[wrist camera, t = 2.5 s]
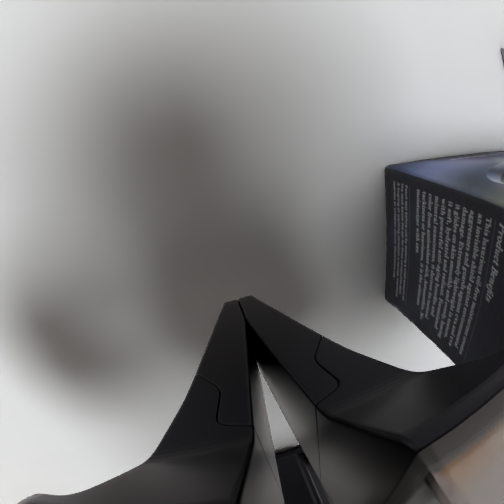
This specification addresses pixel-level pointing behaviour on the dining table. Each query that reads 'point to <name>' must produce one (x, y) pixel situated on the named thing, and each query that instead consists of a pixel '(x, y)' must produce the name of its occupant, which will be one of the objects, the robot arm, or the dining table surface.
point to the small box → (449, 251)
